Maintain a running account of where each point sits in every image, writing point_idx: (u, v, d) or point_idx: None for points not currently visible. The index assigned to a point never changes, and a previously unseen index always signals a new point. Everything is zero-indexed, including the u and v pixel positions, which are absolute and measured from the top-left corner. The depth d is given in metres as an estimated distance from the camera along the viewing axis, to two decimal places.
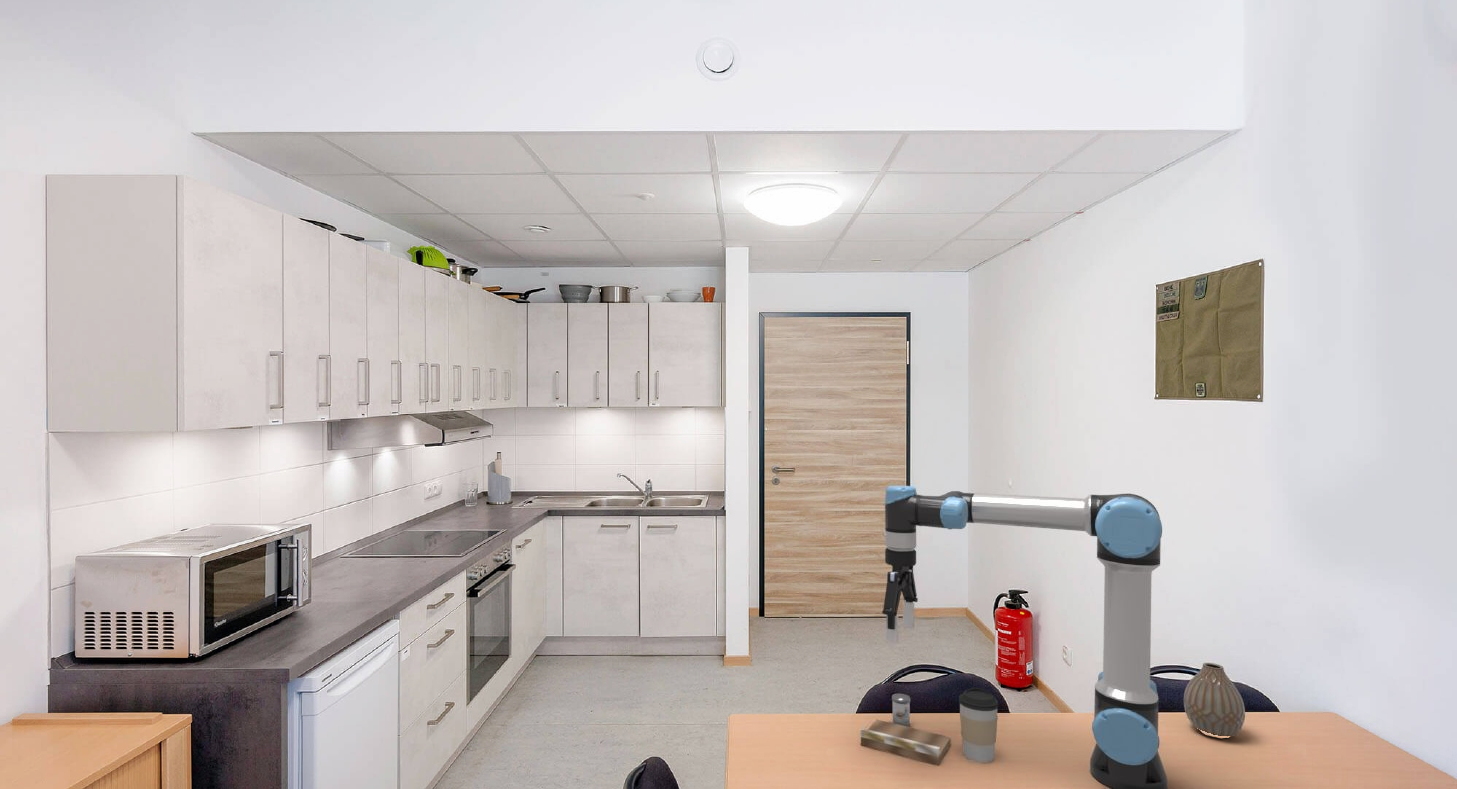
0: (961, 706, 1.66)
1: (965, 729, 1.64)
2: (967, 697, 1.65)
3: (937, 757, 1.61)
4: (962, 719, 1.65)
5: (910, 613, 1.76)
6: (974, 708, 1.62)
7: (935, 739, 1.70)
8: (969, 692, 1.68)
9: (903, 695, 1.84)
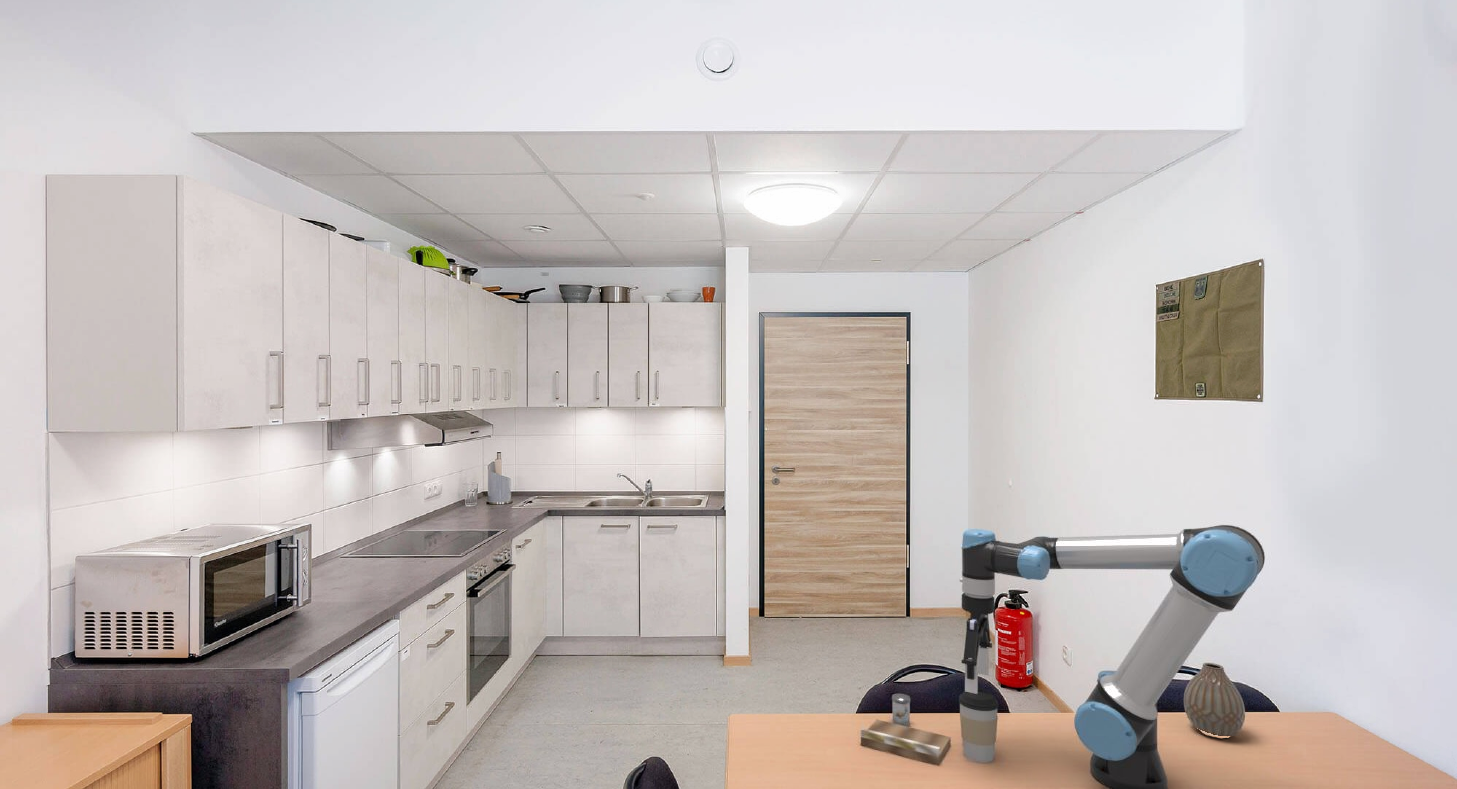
0: (961, 706, 1.66)
1: (965, 729, 1.64)
2: (967, 697, 1.65)
3: (937, 757, 1.61)
4: (962, 719, 1.65)
5: (985, 659, 1.72)
6: (974, 708, 1.62)
7: (935, 739, 1.70)
8: (969, 692, 1.68)
9: (903, 695, 1.84)
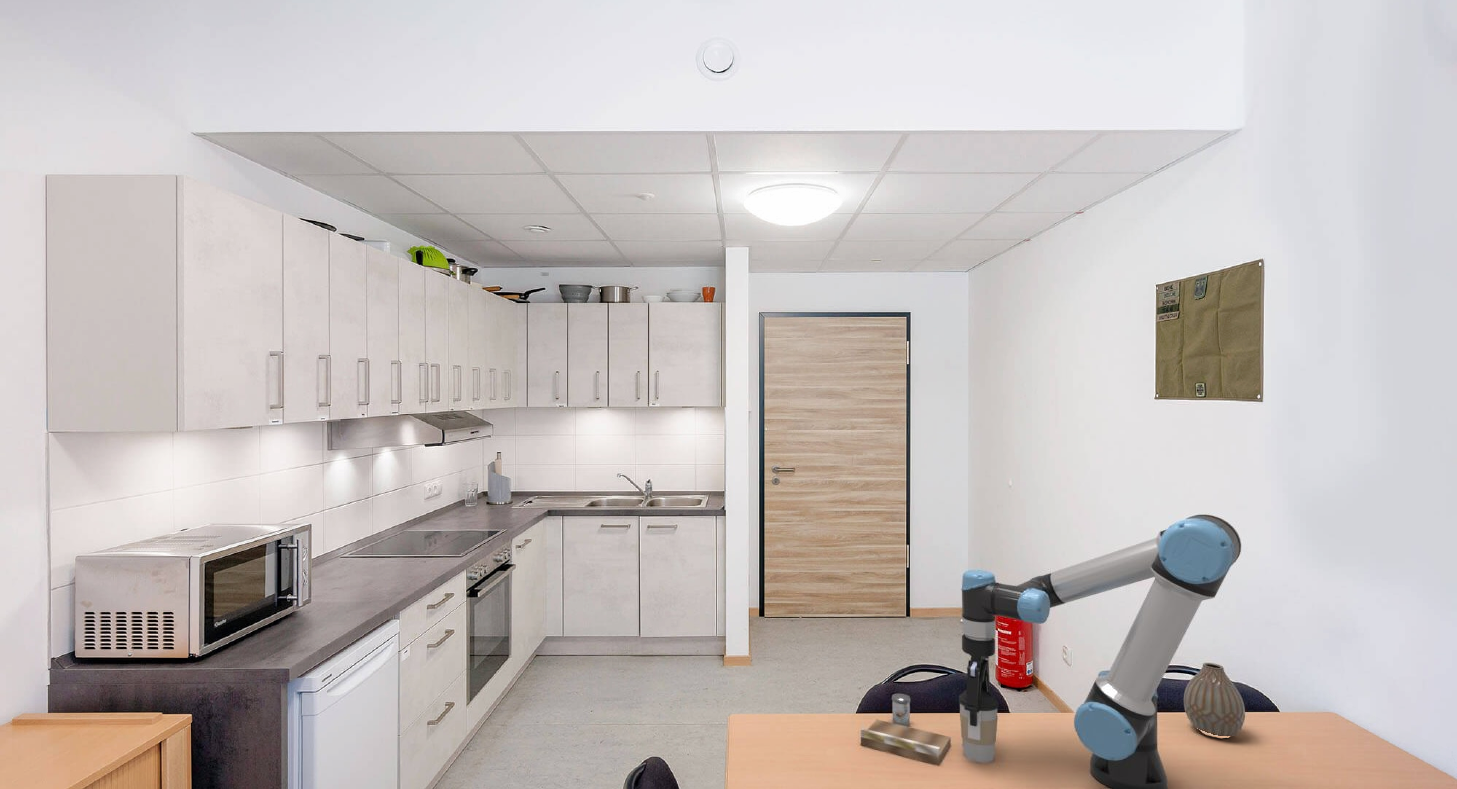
0: (961, 706, 1.66)
1: (965, 729, 1.64)
2: None
3: (937, 757, 1.61)
4: (962, 719, 1.65)
5: None
6: None
7: (935, 739, 1.70)
8: None
9: (903, 695, 1.84)
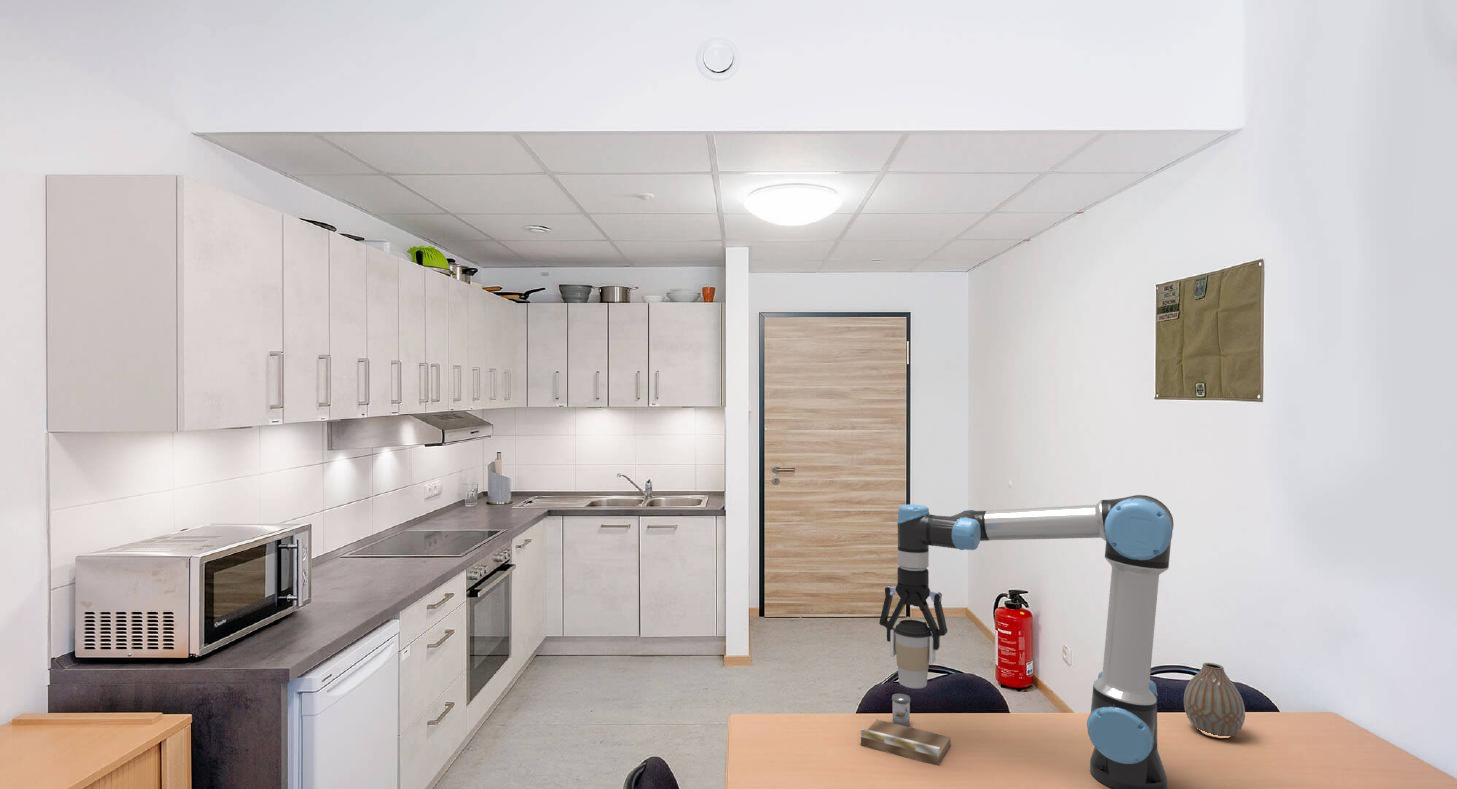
0: None
1: None
2: None
3: (937, 757, 1.61)
4: None
5: None
6: None
7: (935, 739, 1.70)
8: (918, 623, 1.73)
9: (903, 695, 1.84)
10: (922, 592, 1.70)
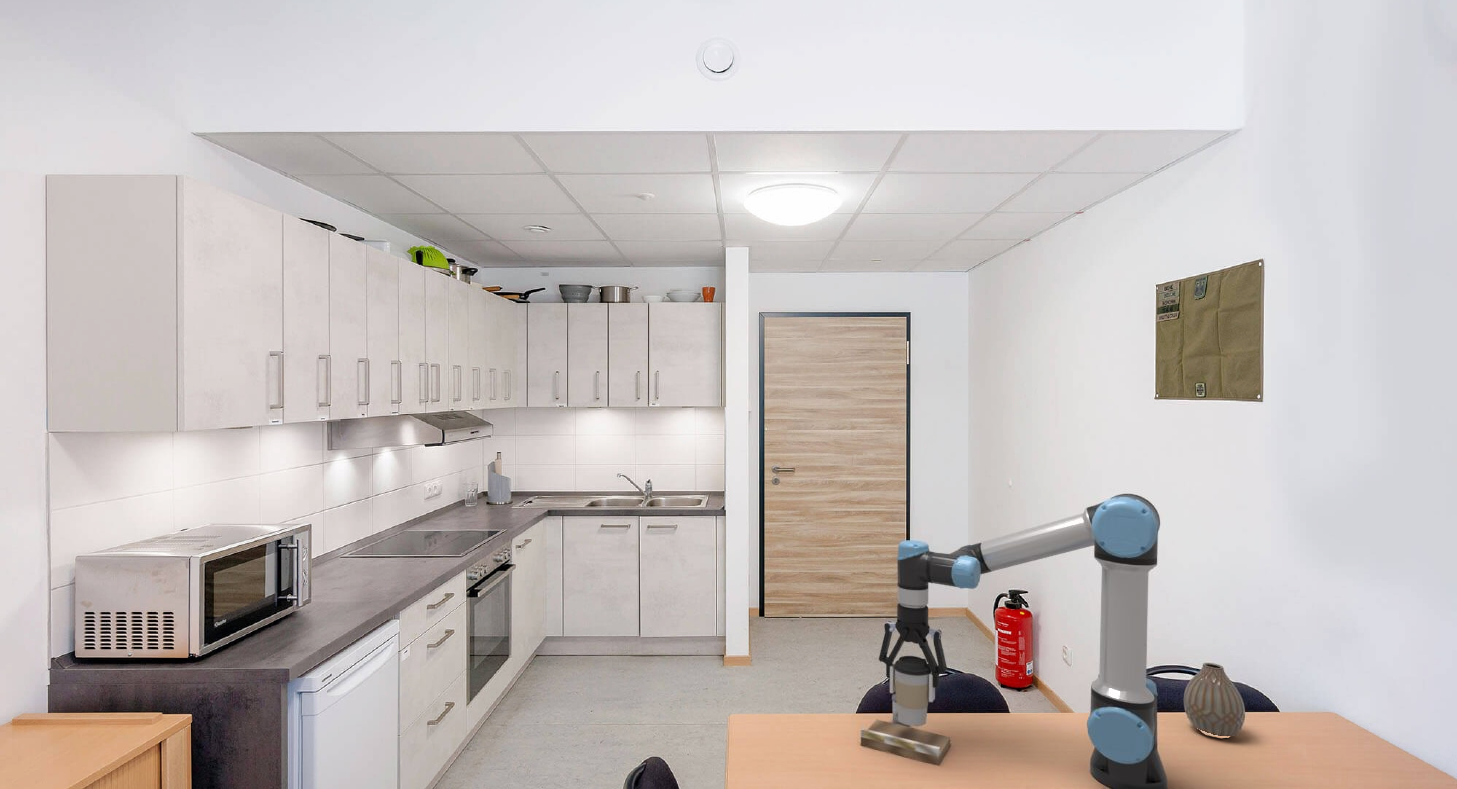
0: None
1: None
2: None
3: (937, 757, 1.61)
4: None
5: None
6: (895, 664, 1.74)
7: (935, 739, 1.70)
8: (918, 659, 1.73)
9: None
10: (922, 629, 1.69)
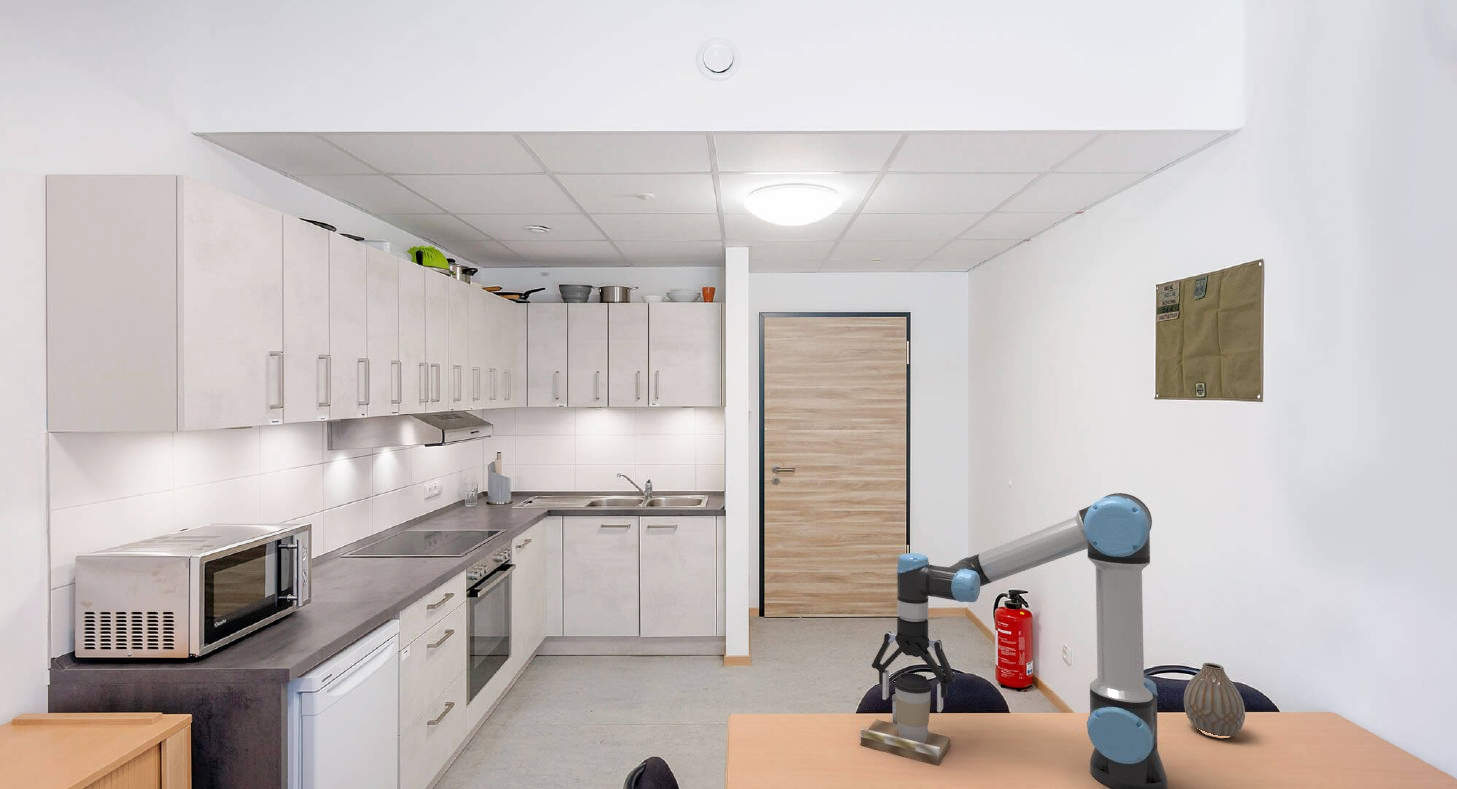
0: None
1: None
2: None
3: (937, 757, 1.61)
4: None
5: None
6: None
7: (935, 739, 1.70)
8: (918, 677, 1.73)
9: None
10: (922, 643, 1.69)
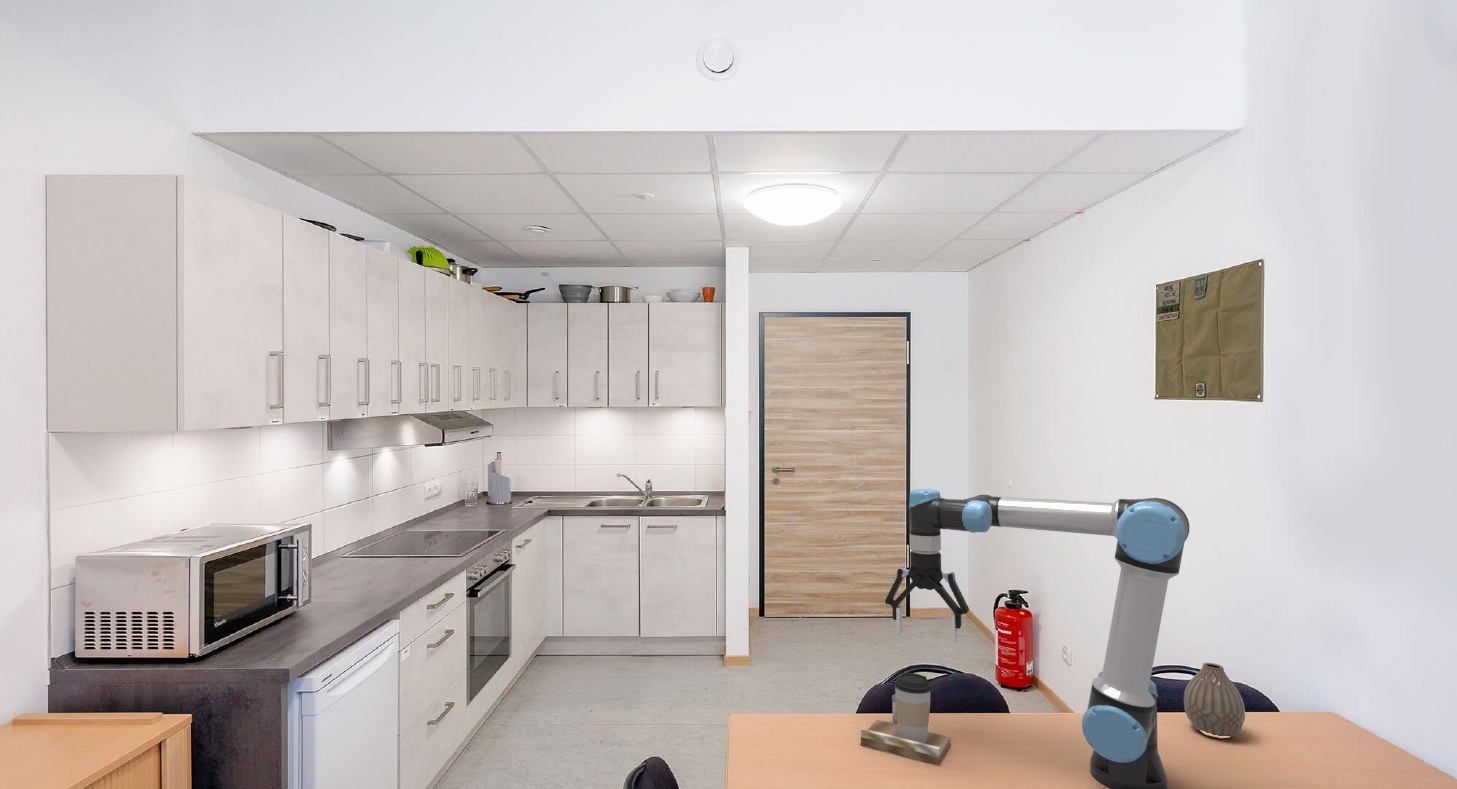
0: None
1: None
2: None
3: (937, 757, 1.61)
4: None
5: None
6: None
7: (935, 739, 1.70)
8: (918, 677, 1.73)
9: None
10: (935, 576, 1.70)
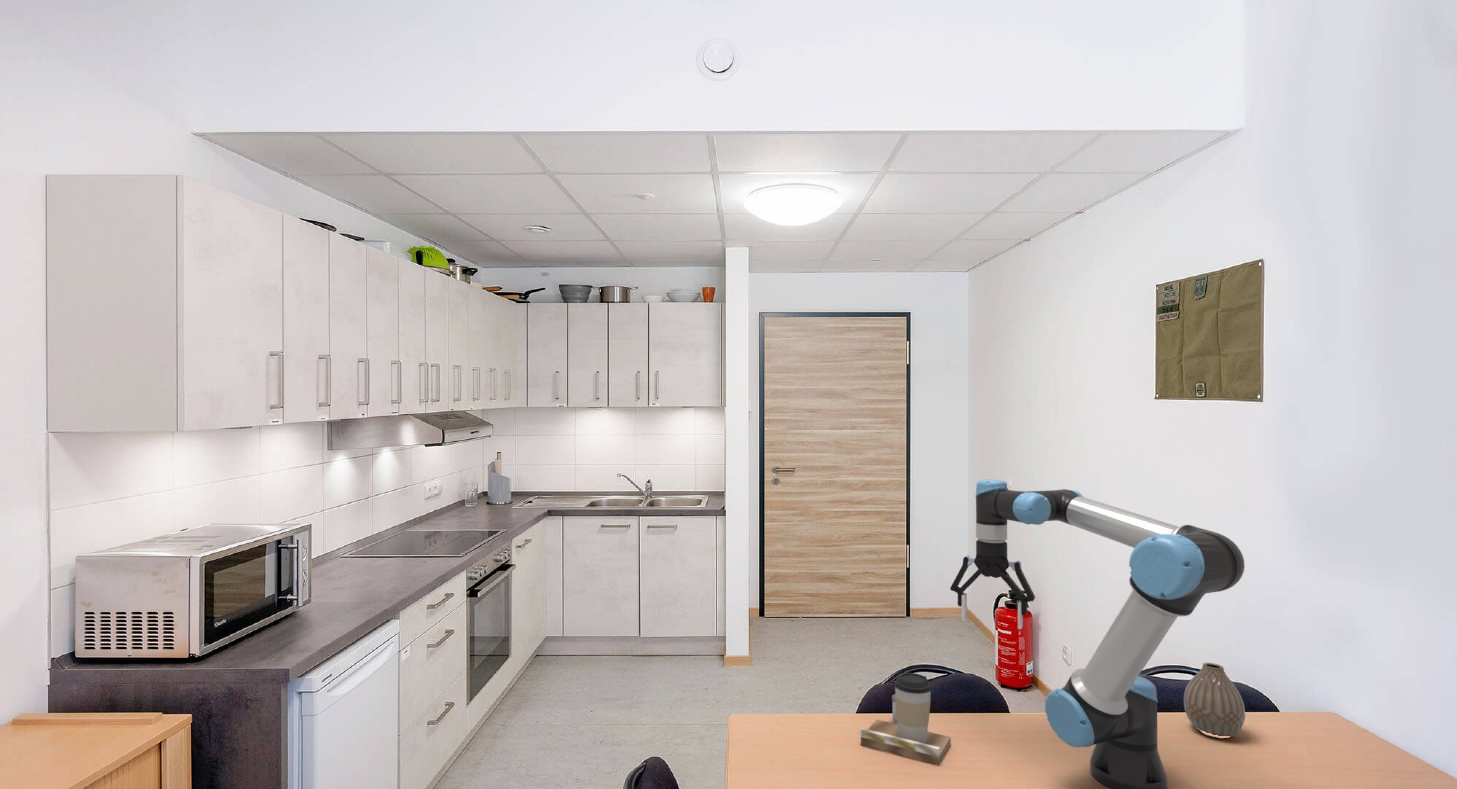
0: None
1: None
2: None
3: (937, 757, 1.61)
4: None
5: (1018, 612, 1.73)
6: None
7: (935, 739, 1.70)
8: (918, 677, 1.73)
9: None
10: (1001, 564, 1.75)
